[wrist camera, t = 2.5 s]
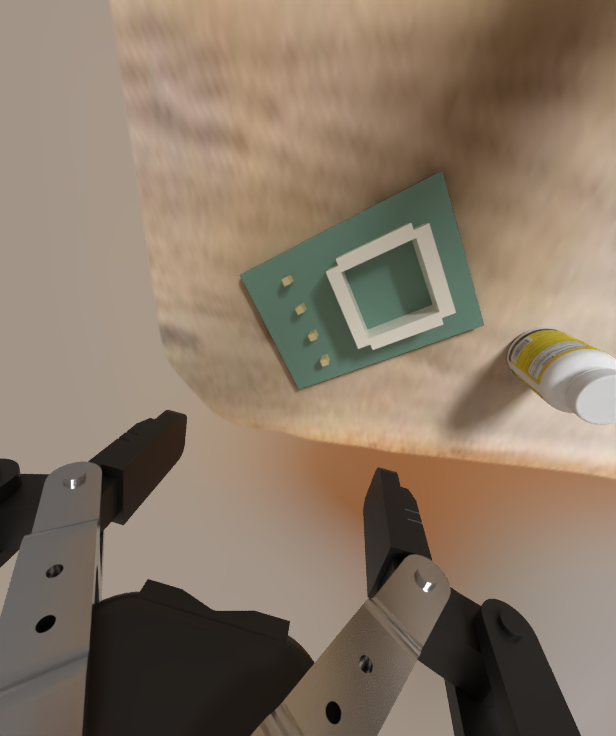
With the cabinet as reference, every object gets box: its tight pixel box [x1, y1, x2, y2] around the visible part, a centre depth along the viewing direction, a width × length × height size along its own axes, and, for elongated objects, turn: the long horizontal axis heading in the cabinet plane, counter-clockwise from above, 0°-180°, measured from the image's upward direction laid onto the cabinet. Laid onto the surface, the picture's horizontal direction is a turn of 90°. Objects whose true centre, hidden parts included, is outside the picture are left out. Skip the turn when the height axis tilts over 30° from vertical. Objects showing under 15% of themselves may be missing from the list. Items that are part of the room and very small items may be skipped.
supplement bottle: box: [507, 328, 616, 424], centre depth 26 cm, size 5×5×10 cm
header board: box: [240, 171, 484, 390], centre depth 29 cm, size 20×14×4 cm
